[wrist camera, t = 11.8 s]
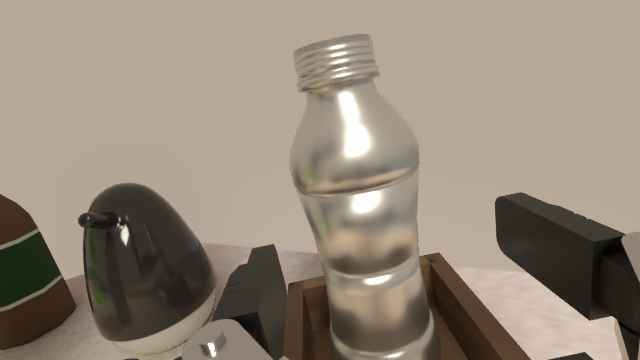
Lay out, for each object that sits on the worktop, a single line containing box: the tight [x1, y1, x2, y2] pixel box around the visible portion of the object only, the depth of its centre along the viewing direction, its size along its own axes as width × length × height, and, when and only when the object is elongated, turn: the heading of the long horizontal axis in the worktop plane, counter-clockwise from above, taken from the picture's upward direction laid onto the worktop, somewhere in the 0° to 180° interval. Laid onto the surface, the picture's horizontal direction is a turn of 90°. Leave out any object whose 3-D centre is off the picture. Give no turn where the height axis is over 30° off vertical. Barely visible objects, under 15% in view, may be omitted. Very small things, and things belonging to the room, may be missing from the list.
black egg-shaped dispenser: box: [78, 183, 217, 355], centre depth 27 cm, size 10×10×15 cm
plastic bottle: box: [289, 34, 442, 360], centre depth 17 cm, size 6×7×20 cm
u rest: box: [283, 253, 531, 360], centre depth 20 cm, size 12×11×5 cm
